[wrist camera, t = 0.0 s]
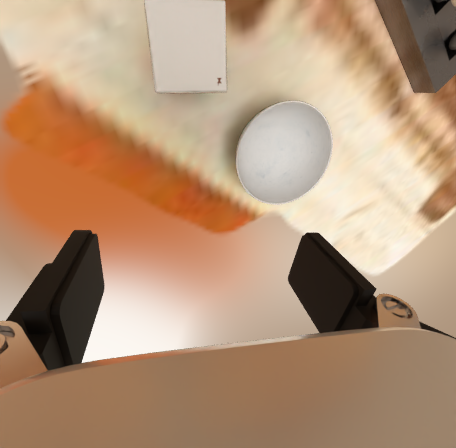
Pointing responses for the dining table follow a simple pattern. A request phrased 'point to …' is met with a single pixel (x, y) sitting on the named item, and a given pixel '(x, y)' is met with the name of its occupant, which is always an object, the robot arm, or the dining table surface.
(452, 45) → the knob
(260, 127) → the chinaware
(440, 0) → the knob middle
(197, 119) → the dining table surface
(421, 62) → the knob plate
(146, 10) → the supplement box
